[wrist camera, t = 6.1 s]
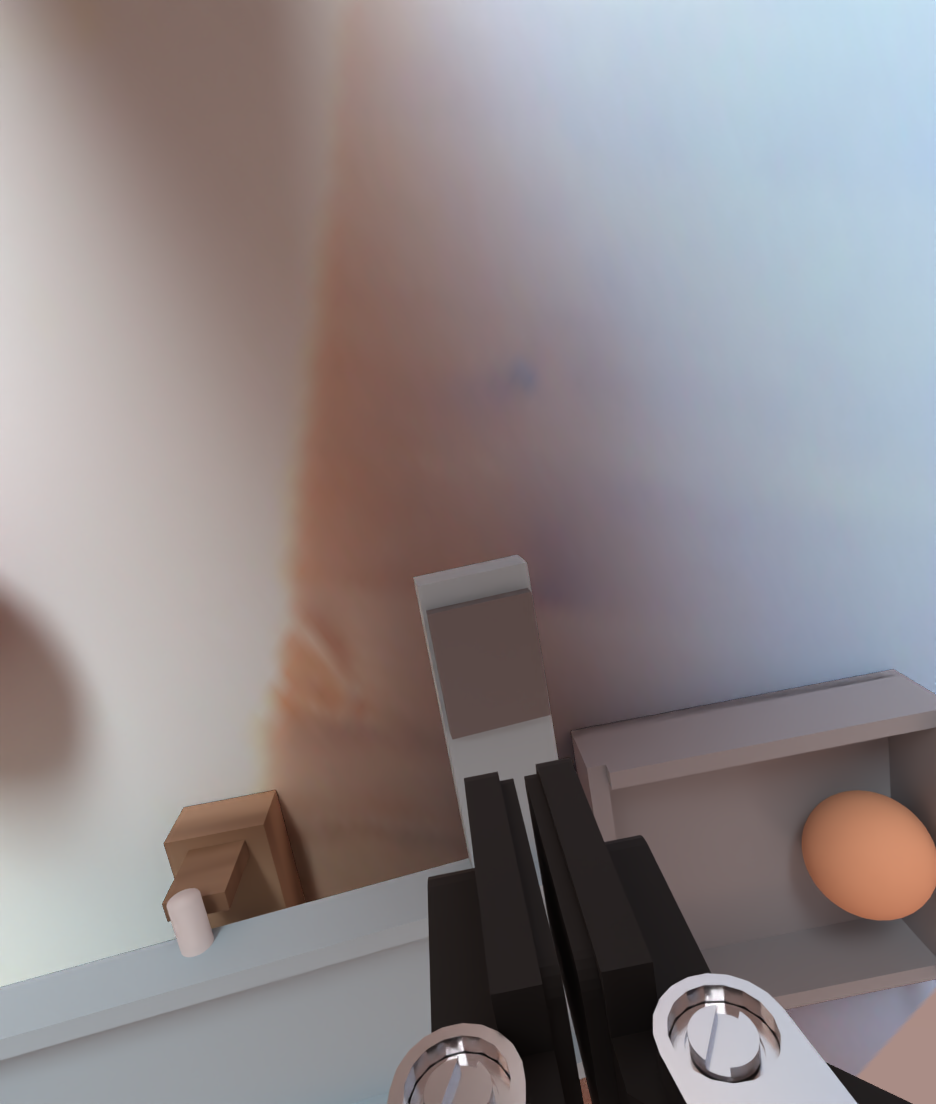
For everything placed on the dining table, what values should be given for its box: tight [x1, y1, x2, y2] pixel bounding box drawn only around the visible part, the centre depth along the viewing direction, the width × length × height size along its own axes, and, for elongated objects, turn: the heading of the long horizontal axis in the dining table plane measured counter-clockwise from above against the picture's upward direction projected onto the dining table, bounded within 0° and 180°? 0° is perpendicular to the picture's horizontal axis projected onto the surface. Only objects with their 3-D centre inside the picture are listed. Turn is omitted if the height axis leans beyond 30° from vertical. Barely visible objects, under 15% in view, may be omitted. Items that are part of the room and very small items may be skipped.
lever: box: [0, 555, 586, 1104], centre depth 19 cm, size 18×22×4 cm
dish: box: [571, 669, 936, 1010], centre depth 24 cm, size 10×12×4 cm
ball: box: [802, 790, 936, 920], centre depth 24 cm, size 4×4×4 cm
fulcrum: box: [162, 790, 306, 929], centre depth 24 cm, size 10×3×4 cm, turn 10°
